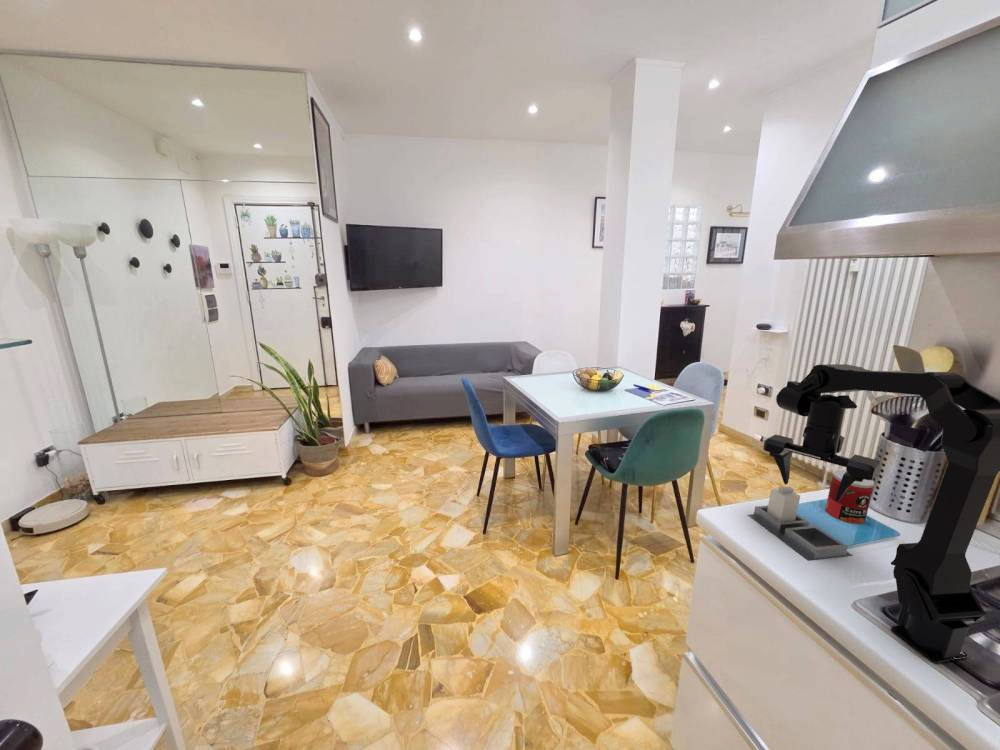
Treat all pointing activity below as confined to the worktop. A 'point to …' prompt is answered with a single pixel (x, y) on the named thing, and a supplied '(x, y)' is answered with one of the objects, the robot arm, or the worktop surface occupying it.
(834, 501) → the canned food
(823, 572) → the worktop surface
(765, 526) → the grey slotted tray
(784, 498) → the plug
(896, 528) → the worktop surface
